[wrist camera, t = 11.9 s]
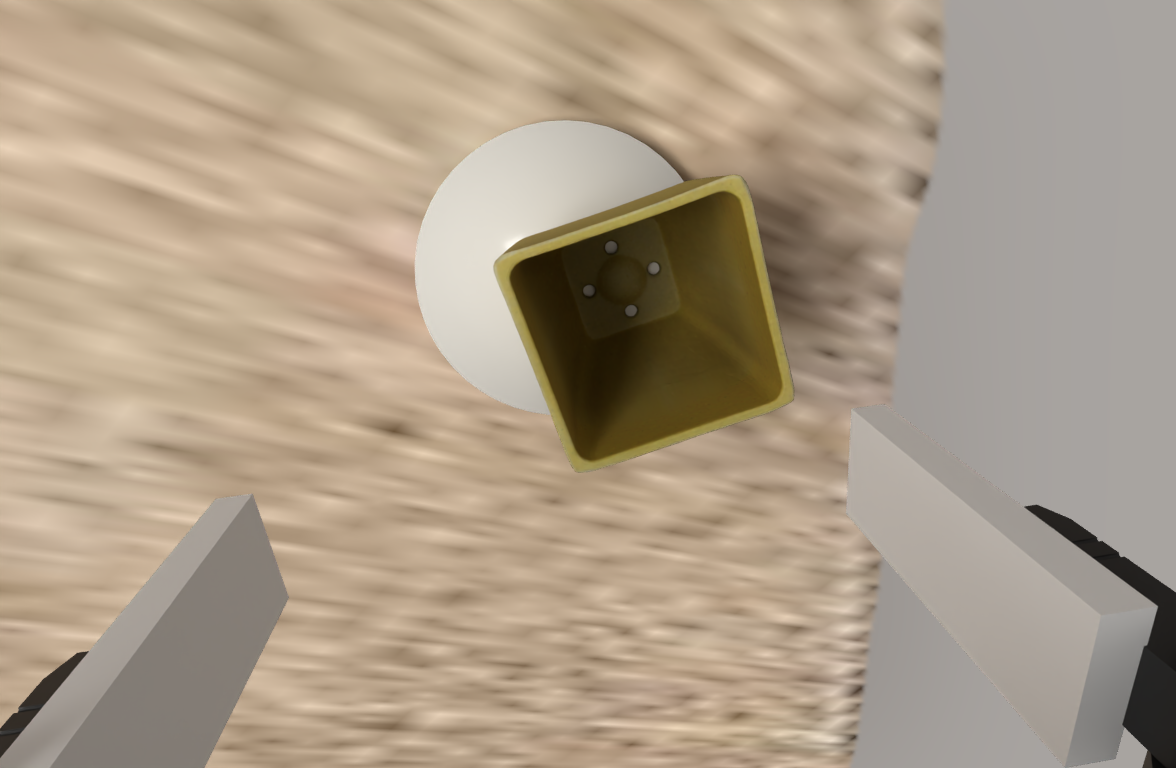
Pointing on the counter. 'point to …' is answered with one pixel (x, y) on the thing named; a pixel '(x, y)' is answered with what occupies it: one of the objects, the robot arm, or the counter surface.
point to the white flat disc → (517, 237)
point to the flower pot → (650, 321)
